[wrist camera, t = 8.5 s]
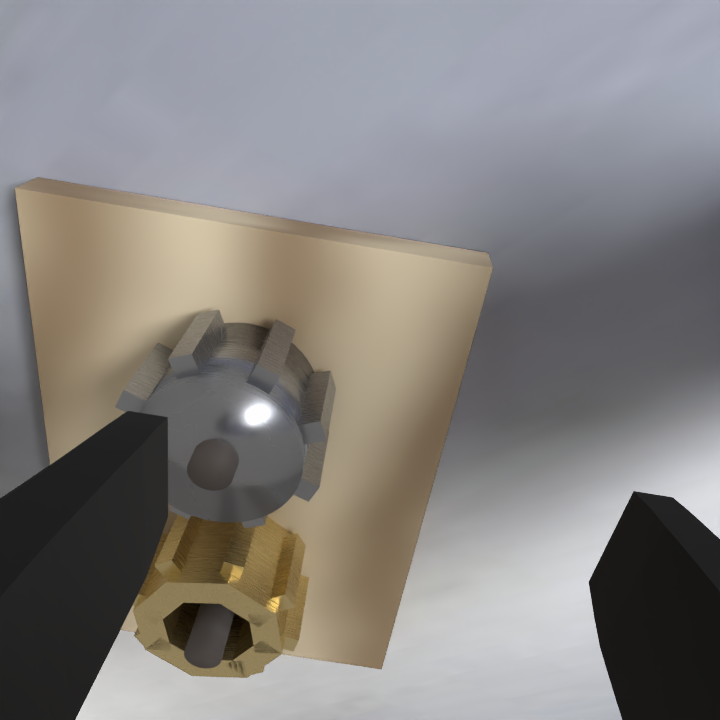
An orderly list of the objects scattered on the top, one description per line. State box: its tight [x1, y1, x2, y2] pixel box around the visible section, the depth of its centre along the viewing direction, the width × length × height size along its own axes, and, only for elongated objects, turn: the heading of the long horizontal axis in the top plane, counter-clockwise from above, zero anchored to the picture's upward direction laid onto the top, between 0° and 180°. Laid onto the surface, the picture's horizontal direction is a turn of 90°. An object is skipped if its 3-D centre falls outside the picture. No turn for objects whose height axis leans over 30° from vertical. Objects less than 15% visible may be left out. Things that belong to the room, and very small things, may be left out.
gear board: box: [15, 177, 493, 669], centre depth 20 cm, size 13×18×5 cm
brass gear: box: [132, 514, 309, 678], centre depth 21 cm, size 6×6×3 cm
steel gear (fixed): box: [115, 310, 336, 528], centre depth 18 cm, size 6×6×3 cm
